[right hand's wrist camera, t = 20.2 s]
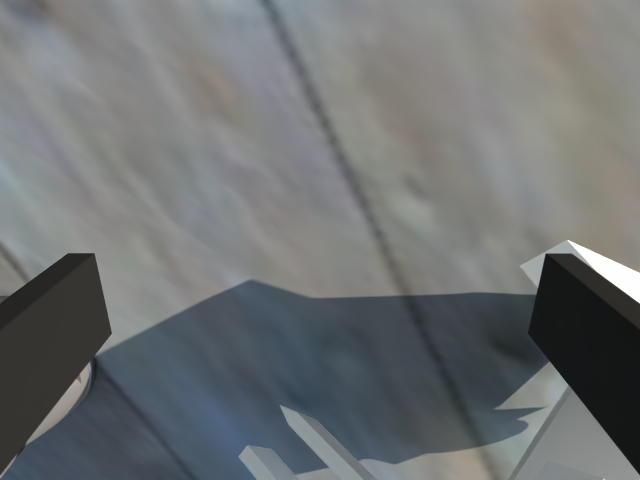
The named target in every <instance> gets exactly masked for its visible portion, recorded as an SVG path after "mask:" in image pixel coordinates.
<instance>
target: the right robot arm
mask: <svg viewBox="0 0 640 480" xmlns="http://www.w3.org/2000/svg"><path fill="white" fill-rule="evenodd" d="M111 334H112V332H111V327H110V323H109V318H108V313H107V309H106V304H105V300H104V295H103V290H102V286H101V281H100V277H99V272H98V267H97V263H96V258H95V254H94V253H68V254H67V255H65V256H64V257H63V258H61V259H60V260H58V261H57V262H56V263H54V264H53V265H52V266H50V267H49V268H48V269H46V270H45V271H43V272H42V273H41V274H39V275H38V276H37V277H35V278H34V279H33V280H31V281H30V282H28V283H27V284H26V285H24V286H23V287H22V288H20V289H19V290H18V291H16V292H15V293H13V294H12V295H11V296H0V479H1V477H2V476H3V475H4V474H5V472H6V471H7V470H8V468H9V467H10V466H11V464H12V463H13V462H14V460H15V459H16V458H17V456H18V455H19V454H20V453H21V451H22V450H23V449H24V448H25V446H26V445H28V444H29V443H31V442H32V441H33V440H35V439H36V438H38V437H39V436H41V435H42V434H43V433H45V432H46V431H48V430H49V429H50V428H52V427H53V426H55V425H56V424H58V423H59V422H60V421H62V420H63V419H65V418H66V417H67V416H69V415H70V414H71V413H72V412H73V411H74V410H75V409H76V408H77V407H78V406H79V405H80V404H81V403H82V401H83V400H84V399H85V397H86V396H87V394H88V393H89V391H90V390H91V388H92V386H93V383H94V380H95V374H96V367H95V360H94V356H95V354H96V353H97V352H98V350H99V349H100V348H101V347H102V345H103V344H104V343H105V342H106V340H107V339H108V338H109V336H110V335H111ZM528 334H529V335H530V336H531V338H532V339H533V340H534V342H535V343H536V344H537V345H538V347H539V348H540V349H541V350H542V352H543V353H544V354H545V356H546V357H547V358H548V359H549V361H550V362H551V363H552V364H553V366H554V367H555V368H556V370H557V371H558V372H559V373H560V375H561V376H562V377H563V378H564V380H565V381H566V382H567V384H568V385H569V386H570V387H571V389H572V390H573V391H574V392H575V394H576V395H577V396H578V398H579V399H580V400H581V401H582V403H583V404H584V405H585V406H586V408H587V409H588V410H589V411H590V413H591V414H592V415H593V417H594V418H595V419H596V420H597V422H598V423H599V424H600V425H601V427H602V428H603V429H604V431H605V432H606V433H607V434H608V436H609V437H610V438H611V439H612V441H613V442H614V443H615V445H616V446H617V447H618V448H619V450H620V451H621V452H622V453H623V455H624V456H625V457H626V459H627V460H628V461H629V462H630V464H631V465H632V466H633V467H634V469H635V470H636V471H637V473H638V474H639V475H640V303H639V302H637V301H636V300H635V299H633V298H632V297H631V296H629V295H628V294H627V293H625V292H624V291H622V290H621V289H620V288H618V287H617V286H616V285H614V284H613V283H612V282H610V281H609V280H607V279H606V278H605V277H603V276H602V275H601V274H599V273H598V272H597V271H595V270H594V269H592V268H591V267H590V266H588V265H587V264H586V263H584V262H583V261H582V260H580V259H579V258H577V257H576V256H575V255H573V254H572V253H546V254H545V258H544V263H543V267H542V272H541V277H540V281H539V286H538V290H537V295H536V300H535V304H534V309H533V313H532V318H531V323H530V327H529V332H528Z"/></svg>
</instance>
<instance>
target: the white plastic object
mask: <svg viewBox="0 0 640 480" xmlns="http://www.w3.org/2000/svg"><path fill="white" fill-rule="evenodd" d="M546 253H572V254H573V255H575V256H576V257H577V258H579V259H580V260H582V261H583V262H584V263H586V264H587V265H588V266H590V267H591V268H592V269H594V270H595V271H597V272H598V273H599V274H601V275H602V276H603V277H605V278H606V279H607V280H609V281H610V282H612V283H613V284H614V285H616V286H617V287H618V288H620V289H621V290H622V291H624V292H625V293H627V294H628V295H629V296H631V297H632V298H633V299H635V300H636V301H637V302H639V303H640V273H638V272H636V271H634V270H632V269H630V268H627V267H625V266H623V265H621V264H619V263H616V262H614V261H612V260H610V259H608V258H606V257H603V256H601V255H599V254H597V253H595V252H592V251H590V250H588V249H586V248H584V247H582V246H579V245H577V244H575V243H573V242H571V241H569V240H566V241H564V242H562V243H560V244H558V245H557V246H555V247H553V248H551V249H549V250H548V251H546V252H544V253H542V254H540V255H538V256H537V257H535V258H533V259H531V260H529V261H527V262H526V263H524V264H522V265H520V267H521V268H522V269H523V271H524V272H525V273H526V274H527V276H528V277H529V278H530V279H531V280H532V282H533V283H534V284H535V285H536V286H537V288H538V286H539V281H540V277H541V272H542V267H543V263H544V258H545V254H546ZM280 407H281V409H282V412H283V414H284V416H285V418H286V420H287V423H288V425H289V426H290V427H291V428H292V429H293V430H294V431H295V432H296V433H297V434H298V435H299V436H300V437H301V438H302V439H303V440H304V441H305V442H306V444H307V445H308V446H309V447H310V448H311V449H312V450H313V451H314V452H315V453H316V454H317V455H318V456H319V457H320V458H321V459H322V460H323V461H324V462H325V463H326V465H327V466H328V467H329V468H330V469H331V470H332V471H333V472H334V473H335V474H336V475H337V476H338V477H339V478H340V479H341V480H377V479H376V478H375V477H374V476H373V475H372V474H371V473H370V472H369V471H368V470H367V469H366V468H365V467H364V466H363V465H362V464H361V463H360V462H359V461H358V460H357V459H356V458H355V457H354V456H353V455H352V454H351V453H350V452H349V451H348V450H347V449H346V448H345V447H344V446H343V445H342V444H341V443H340V442H338V441H337V440H336V439H335V438H334V437H333V436H332V435H331V434H330V433H329V432H328V431H327V430H326V429H325V428H324V427H323V426H322V425H321V424H320V423H319V422H318V421H317V420H316V419H313V418H311V417H309V416H307V415H304V414H302V413H300V412H297V411H295V410H292V409H289V408H287V407H284V406H281V405H280ZM238 457H239V458H240V460H241V461H242V462H243V463H244V465H245V466H246V467H247V468H248V470H249V471H250V472H251V473H252V474H253V476H254V477H255V478H256V479H257V480H299V479H298V478H297V477H296V475H295V474H294V473H293V472H292V471H291V470H290V469H289V467H288V466H287V465H286V464H285V463H284V462H283V461H282V460H281V458H280V457H279V456H278V455H277V454H276V453H275V452H274V451H273V449H270V448H264V447H257V446H251V445H247V446H246V448H245V449H244V450H243V451H242V453H241V454H240V455H239V456H238ZM508 480H640V475H639V474H638V473H637V471H636V470H635V469H634V467H633V466H632V465H631V464H630V462H629V461H628V460H627V459H626V457H625V456H624V455H623V453H622V452H621V451H620V450H619V448H618V447H617V446H616V445H615V443H614V442H613V441H612V439H611V438H610V437H609V436H608V434H607V433H606V432H605V431H604V429H603V428H602V427H601V425H600V424H599V423H598V422H597V420H596V419H595V418H594V417H593V415H592V414H591V413H590V411H589V410H588V409H587V408H586V406H585V405H584V404H583V403H582V401H581V400H580V399H579V398H578V396H577V395H576V394H575V392H574V391H573V390H572V389H571V387H570V386H568V387H567V389H566V390H565V392H564V393H563V395H562V396H561V398H560V399H559V400H558V402H557V403H556V405H555V406H554V408H553V409H552V411H551V413H550V414H549V416H548V417H547V419H546V420H545V422H544V423H543V425H542V426H541V428H540V429H539V431H538V433H537V434H536V436H535V437H534V439H533V440H532V442H531V444H530V445H529V447H528V448H527V450H526V452H525V453H524V455H523V457H522V458H521V460H520V461H519V463H518V465H517V466H516V468H515V469H514V471H513V473H512V474H511V476H510V477H509V479H508Z"/></svg>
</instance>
